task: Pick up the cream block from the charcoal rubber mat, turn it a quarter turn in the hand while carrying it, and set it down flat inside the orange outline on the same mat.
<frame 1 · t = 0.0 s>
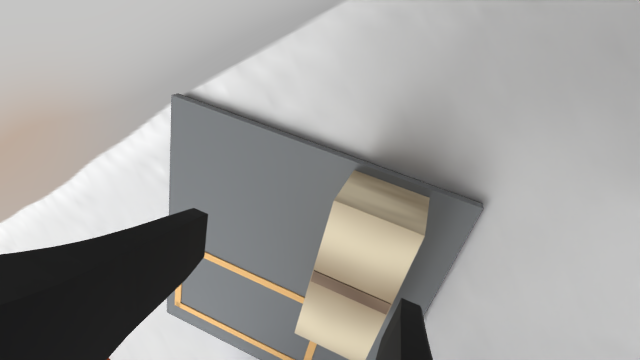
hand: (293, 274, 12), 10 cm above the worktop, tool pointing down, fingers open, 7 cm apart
cream block: (365, 249, 22), point 1 cm above the worktop, touching rubber mat
rubber mat: (285, 269, 26), on the worktop
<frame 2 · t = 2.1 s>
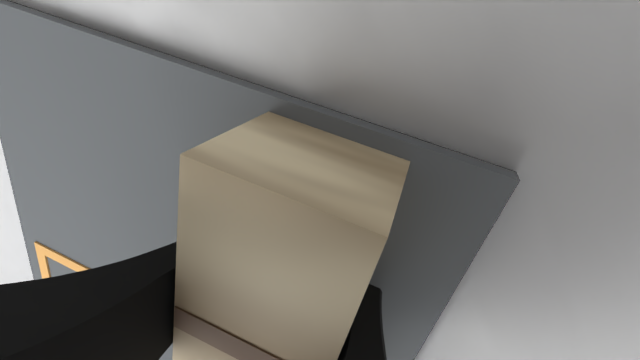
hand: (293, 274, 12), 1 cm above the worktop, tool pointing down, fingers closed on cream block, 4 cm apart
cream block: (302, 260, 12), point 1 cm above the worktop, touching gripper, rubber mat
rubber mat: (190, 289, 16), on the worktop
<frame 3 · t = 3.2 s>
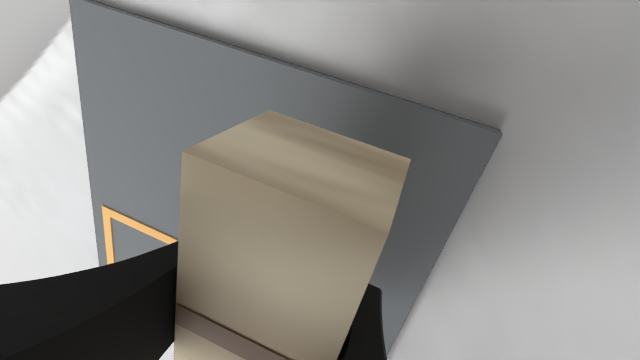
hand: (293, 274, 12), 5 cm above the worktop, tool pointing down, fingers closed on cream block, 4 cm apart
cream block: (302, 258, 13), point 5 cm above the worktop, touching gripper
rubber mat: (236, 241, 20), on the worktop
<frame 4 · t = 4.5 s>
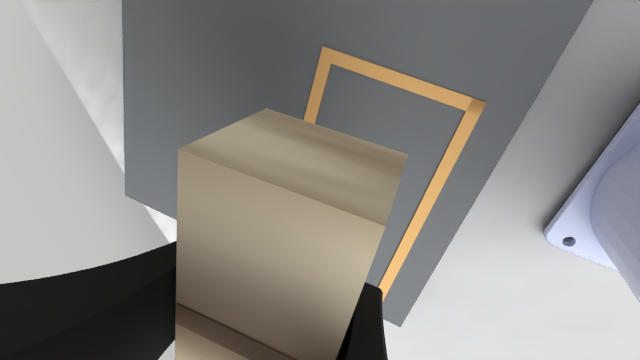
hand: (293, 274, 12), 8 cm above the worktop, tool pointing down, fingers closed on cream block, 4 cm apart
cream block: (303, 257, 12), point 7 cm above the worktop, touching gripper
rubber mat: (287, 115, 19), on the worktop
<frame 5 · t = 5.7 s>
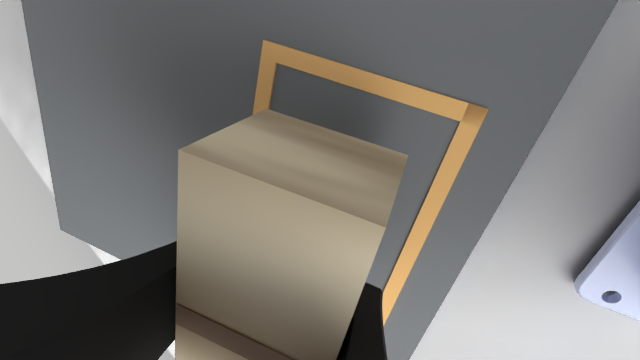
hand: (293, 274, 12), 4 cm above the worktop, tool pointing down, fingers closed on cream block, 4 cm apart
cream block: (303, 257, 12), point 3 cm above the worktop, touching gripper
rubber mat: (232, 132, 15), on the worktop
when the fingers open (3 cm above the worktop, at t = 6.9 s): cream block drops 1 cm, resting on rubber mat.
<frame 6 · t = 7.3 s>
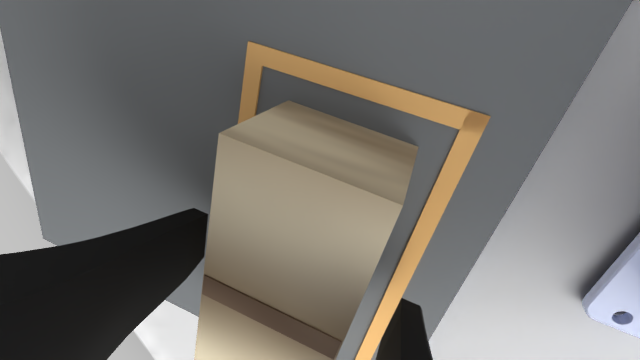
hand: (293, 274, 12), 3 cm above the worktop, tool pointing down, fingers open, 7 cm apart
cream block: (315, 240, 13), point 1 cm above the worktop, touching rubber mat
rubber mat: (218, 139, 14), on the worktop
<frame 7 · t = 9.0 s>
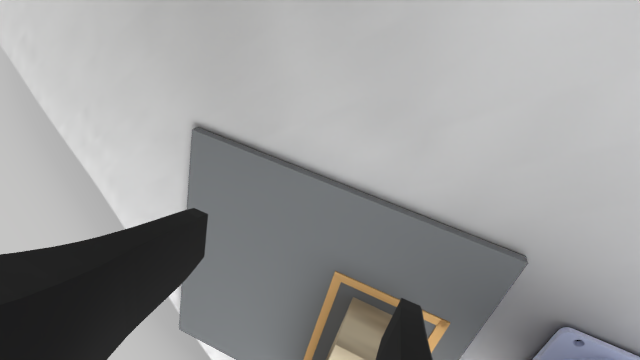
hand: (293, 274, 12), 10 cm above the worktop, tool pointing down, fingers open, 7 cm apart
cream block: (361, 357, 25), point 1 cm above the worktop, touching rubber mat
rubber mat: (309, 299, 25), on the worktop
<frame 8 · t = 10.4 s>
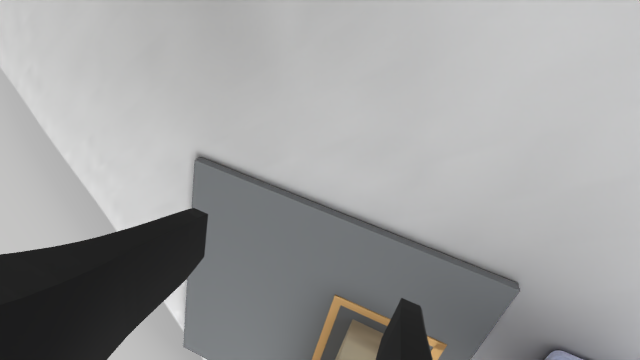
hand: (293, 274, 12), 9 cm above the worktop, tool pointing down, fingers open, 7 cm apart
rubber mat: (310, 320, 26), on the worktop
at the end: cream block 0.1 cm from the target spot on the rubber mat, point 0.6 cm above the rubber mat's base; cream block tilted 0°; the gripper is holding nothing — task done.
